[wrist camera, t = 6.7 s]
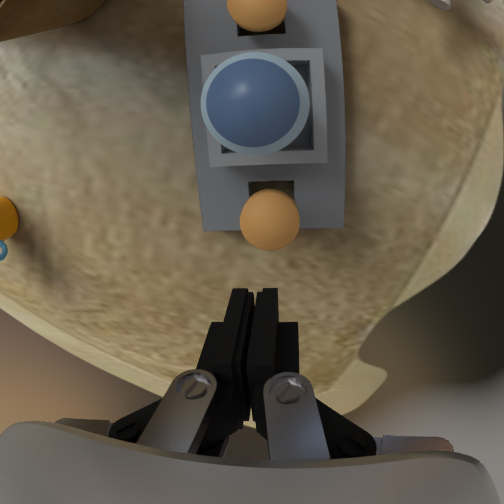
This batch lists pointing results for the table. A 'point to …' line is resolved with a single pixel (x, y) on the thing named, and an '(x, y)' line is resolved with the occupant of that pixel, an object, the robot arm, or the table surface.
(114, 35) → the table surface
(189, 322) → the table surface
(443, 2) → the pipe connector
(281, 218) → the orange rounded knob
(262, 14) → the light orange ball
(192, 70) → the housing
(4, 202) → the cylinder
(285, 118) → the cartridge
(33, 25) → the plant pot
